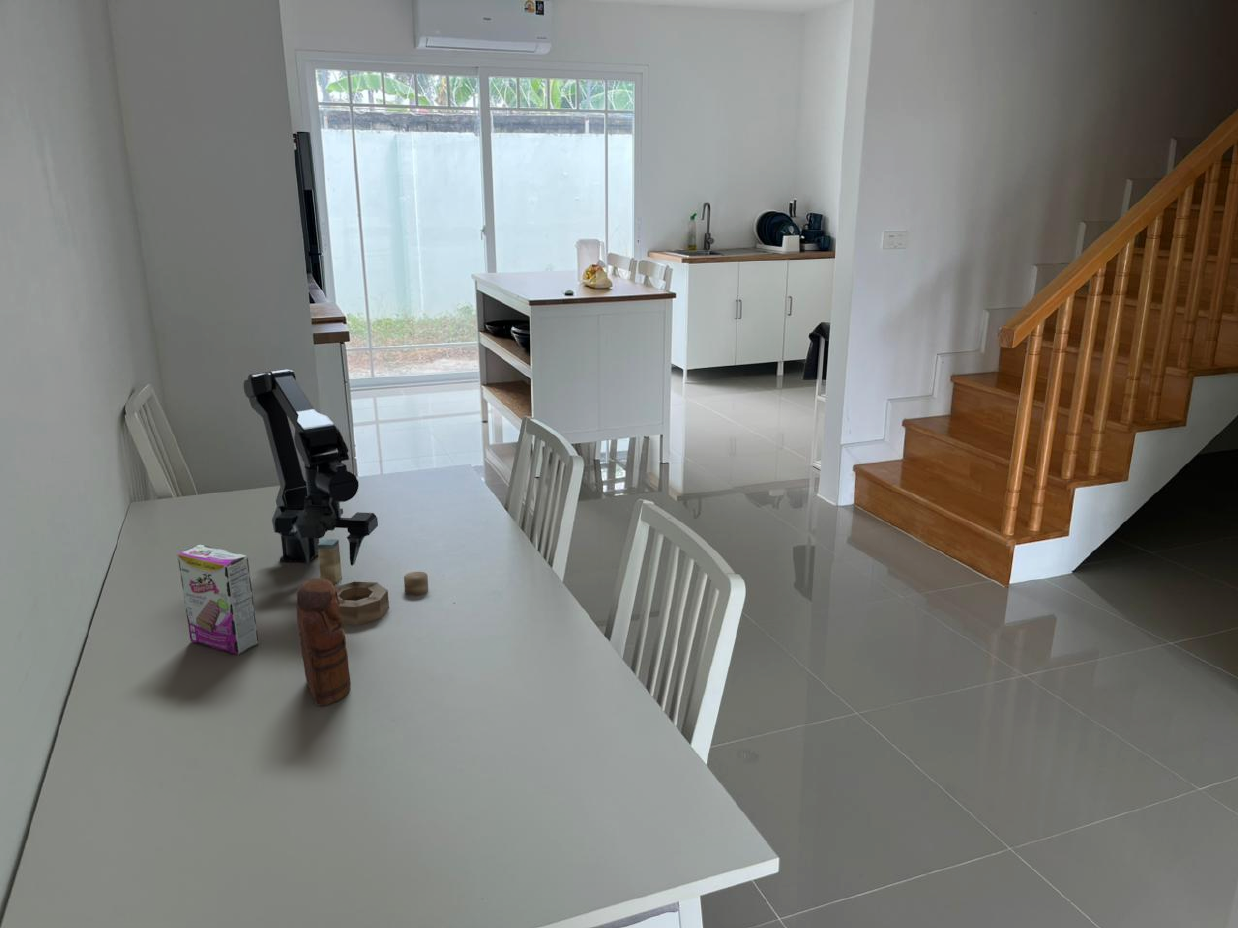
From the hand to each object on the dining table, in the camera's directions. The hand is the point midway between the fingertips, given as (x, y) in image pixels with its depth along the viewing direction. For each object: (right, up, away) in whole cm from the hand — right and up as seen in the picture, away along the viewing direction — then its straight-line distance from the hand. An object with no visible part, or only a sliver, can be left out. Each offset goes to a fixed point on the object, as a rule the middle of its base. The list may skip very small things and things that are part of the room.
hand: (329, 563), depth 184 cm
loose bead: (+18, -5, -3) cm, 19 cm away
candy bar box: (-10, -11, -24) cm, 28 cm away
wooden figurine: (+11, -15, -37) cm, 42 cm away
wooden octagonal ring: (+9, -7, -12) cm, 17 cm away
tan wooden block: (0, -3, +1) cm, 3 cm away
